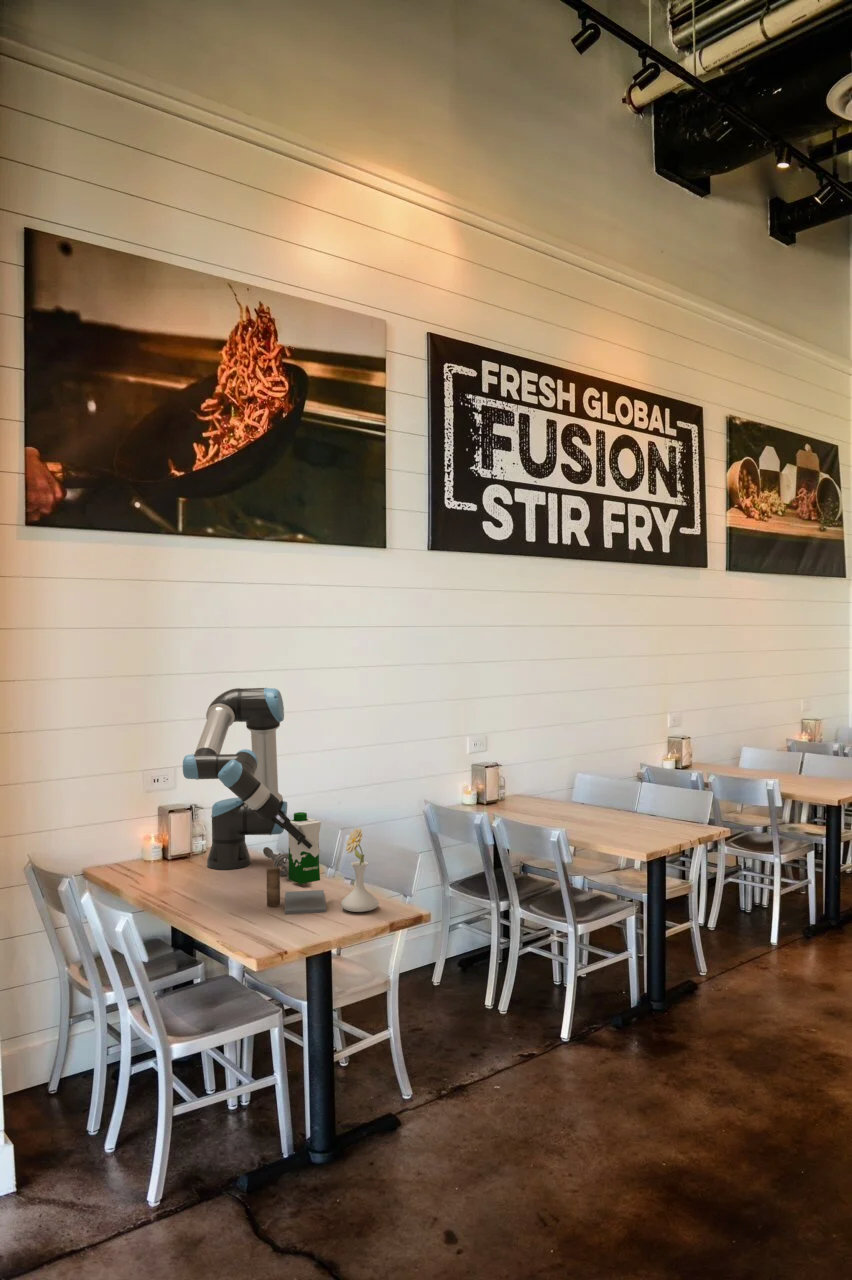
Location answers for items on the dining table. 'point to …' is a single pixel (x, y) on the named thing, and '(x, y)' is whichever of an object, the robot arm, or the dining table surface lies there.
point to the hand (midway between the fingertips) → (314, 850)
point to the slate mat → (305, 902)
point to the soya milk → (304, 851)
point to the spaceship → (279, 861)
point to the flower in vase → (358, 880)
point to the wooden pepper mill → (273, 886)
